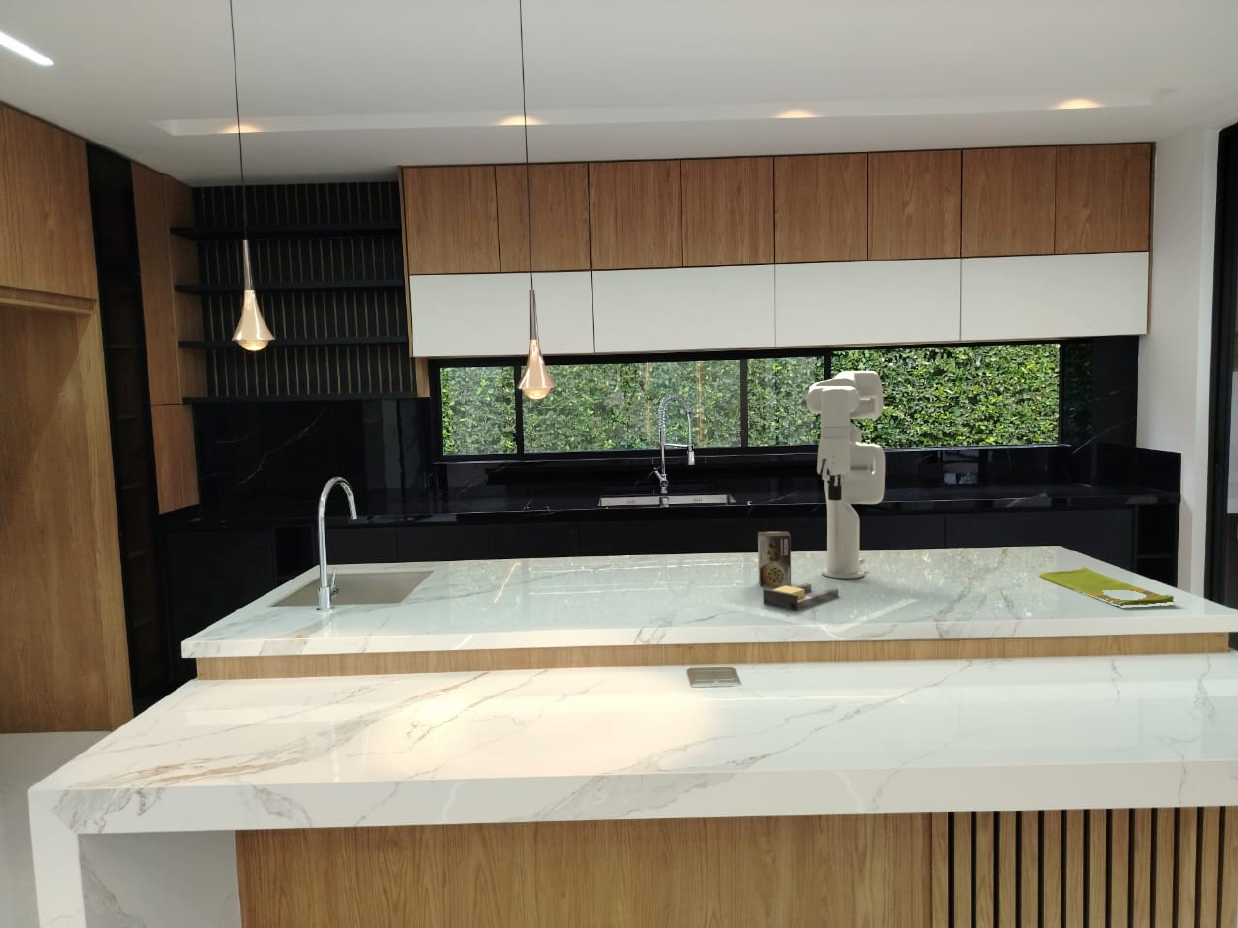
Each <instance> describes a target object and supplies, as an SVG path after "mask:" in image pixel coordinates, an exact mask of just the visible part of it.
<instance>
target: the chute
mask: <svg viewBox="0 0 1238 928" xmlns="http://www.w3.org/2000/svg"><path fill="white" fill-rule="evenodd" d="M795 587H796V588H801V589H804V594H806V593H809V592H811V591H812V583H808V582H806V583H802V584H799V585H795ZM836 597H839V588H836V587H832V588H830V589H826V590H823V591H820V592H818V593H815V594H811V595H809V596H804V597H803V598H800V599H798V595H793V594H788V593H783V592H778V591H773V589H767V588H764V589H763V605H767V606H771V607H775V608H781V609H785V610H789V611H793V612H798V611H800V610H803V609H806V608H809V607H812V606H814V605H817V604H819V603H822V602H825V601H827V600H831V599H834V598H836Z"/></svg>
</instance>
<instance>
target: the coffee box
mask: <svg viewBox="0 0 1238 928" xmlns="http://www.w3.org/2000/svg"><path fill="white" fill-rule="evenodd" d="M791 538H792V537H791V534H790V532H789V531H757V544H758V545H757V546H758V547H757V549H758V551H757V552H758V553H757V555H758V557H757V559H758V560H757V561H758V562H757V563H758V566H757V567H758V584H759V587H782V586H785V585H786V586H791V587H792V550H791V548H792V547H791V546H792V545H791V544H792V543H791V541H792V540H791Z"/></svg>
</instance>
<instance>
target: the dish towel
mask: <svg viewBox="0 0 1238 928" xmlns="http://www.w3.org/2000/svg"><path fill="white" fill-rule="evenodd" d="M1038 578H1040V579H1043V580H1046V581H1049V582H1050V583H1053V584H1056V585H1059V586H1061V585H1062V587H1064V588H1067V589H1069V588H1070V589H1069V590H1072V591H1074V590H1078V591H1081V592H1084V593H1086V594H1089V595H1092V596H1095V597H1098V598H1101V599H1104V600H1106V599H1108V600H1106V601H1108V602H1111V601H1113V602H1112V603H1114V604H1117V605H1120V606H1123V605H1140V604H1141V605H1148V604H1156V603H1167V602H1174V603H1175V601H1174V599H1175V598H1174V596H1173V595H1170V594H1166V595H1162V594H1159V593H1156V592H1153V591H1150V590H1147V589H1143V588H1141V587H1139V586H1135V585H1132V584H1131V583H1127V582H1123V581H1120V580H1117V579H1115V578H1112V577H1108V576H1106V575H1104V574H1100V573H1098V572H1095V571H1092V570H1090V569H1089V568H1087V567H1085V566H1083V567H1081V568H1080V569H1072V570H1068V571H1066V570H1064V571H1063V570H1062V571H1050V572H1044V573H1041V574H1039V575H1038ZM1103 590H1111V591H1112V590H1130V591H1136V592H1139V593H1143V594H1145V595H1147V596H1146V598H1143V599H1138V600H1120V599H1115V598H1111V597H1109V596H1107V595H1104V594H1103V593H1104V592H1102V591H1103Z"/></svg>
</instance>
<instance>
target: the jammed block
mask: <svg viewBox="0 0 1238 928" xmlns="http://www.w3.org/2000/svg"><path fill="white" fill-rule="evenodd" d="M772 590H773V591H778V592H783V593H788V594H793V595H798V599H800V598H803V597H805V593H804V589H801V588H796V586H792V585H791V586H786V585H785V586H778V587H776V588H773V589H772Z"/></svg>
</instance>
